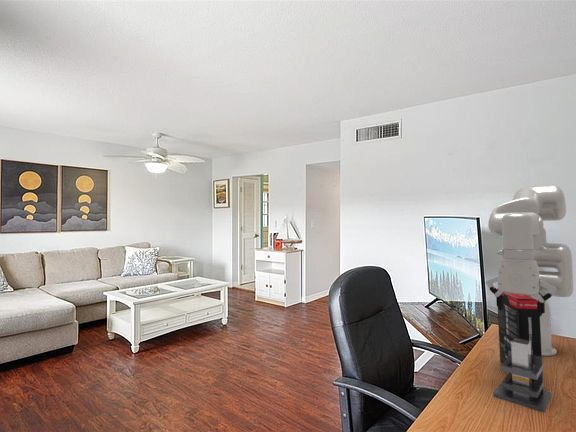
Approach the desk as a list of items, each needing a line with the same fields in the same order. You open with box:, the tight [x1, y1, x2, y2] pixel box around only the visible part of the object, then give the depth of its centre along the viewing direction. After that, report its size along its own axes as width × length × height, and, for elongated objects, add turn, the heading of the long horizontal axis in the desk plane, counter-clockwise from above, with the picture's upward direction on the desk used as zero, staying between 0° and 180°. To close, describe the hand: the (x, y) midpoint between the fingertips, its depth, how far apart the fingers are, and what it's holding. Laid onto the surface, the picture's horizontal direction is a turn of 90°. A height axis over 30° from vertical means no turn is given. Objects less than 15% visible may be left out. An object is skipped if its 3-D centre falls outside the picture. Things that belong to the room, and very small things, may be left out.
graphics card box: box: [496, 287, 543, 365], centre depth 113 cm, size 17×7×27 cm, turn 168°
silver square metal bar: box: [511, 338, 532, 397], centre depth 98 cm, size 4×4×15 cm
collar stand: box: [493, 350, 553, 413], centre depth 98 cm, size 12×12×11 cm
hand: (520, 312), depth 99 cm, fingers open, 9 cm apart
